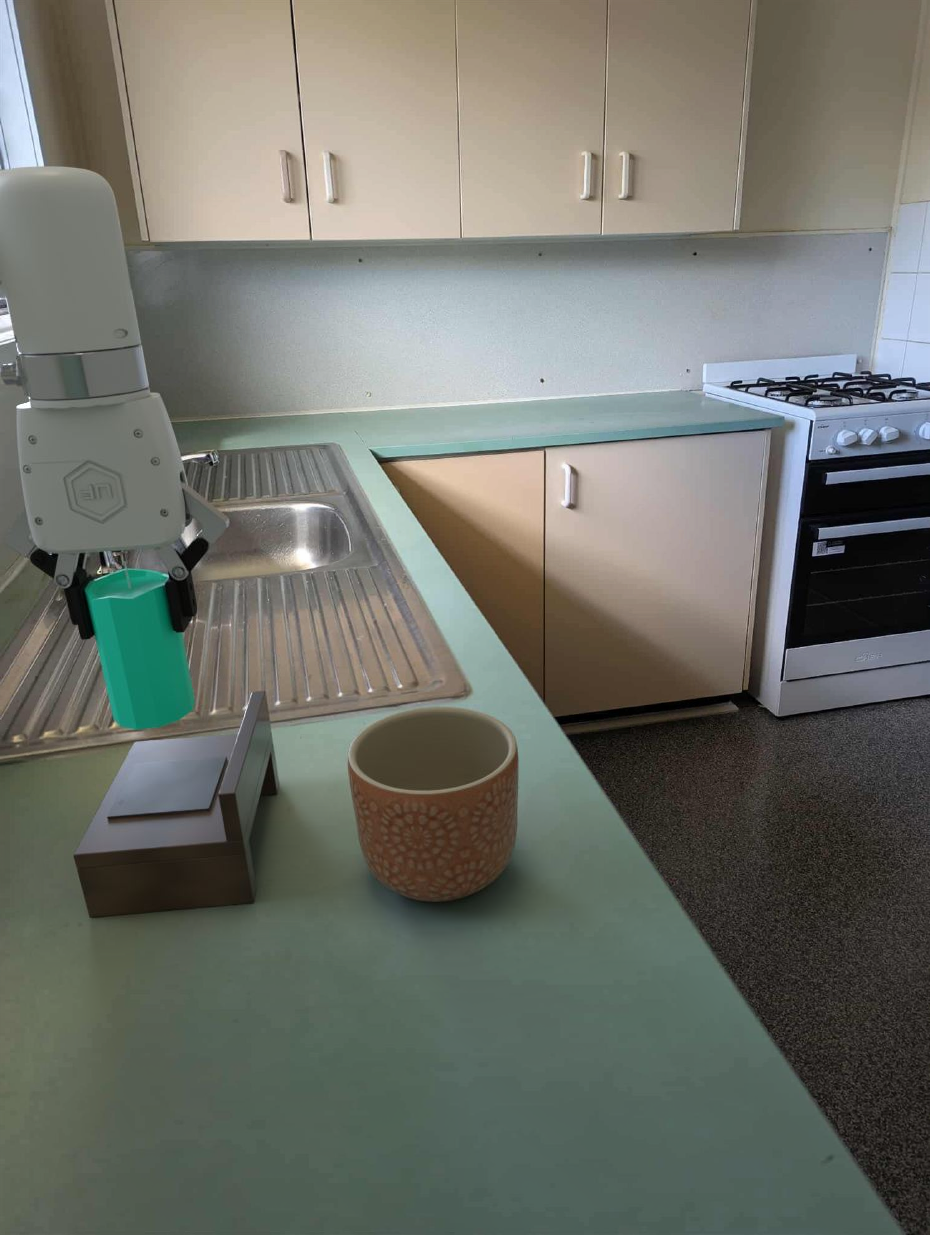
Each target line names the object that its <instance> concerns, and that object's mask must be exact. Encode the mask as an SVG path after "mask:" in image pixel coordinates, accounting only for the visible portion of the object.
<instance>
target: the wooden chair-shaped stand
mask: <svg viewBox="0 0 930 1235" xmlns="http://www.w3.org/2000/svg"><path fill="white" fill-rule="evenodd" d="M270 718H271V717H270V712H269V706H268V700H267V692H266V690H259V691H258V690H257V691H251V693H250V697H249V699H248V703H247V706H246V710H245V712H244V715H243V718H242V721H241V724H240V727H239V730H238V733H230V734H219V735H204V736H191V737H179V738H168V739H167V738H166V739H155V740H154V739H153V740H142V741H140V740H139V741H134V742H133V743H132V746H131V747H130V749H129V751H128V753H127V754H126V757H125V758H124V760H123V762H122V764H121V765H120V767H119V770H118V771H117V773H116V774H115V777H114V779H113V780H112V782H111V784H110V786H109V788H108V790H107V792H106V793H105V796H104V797H103V799H102V801H101V803H100V804H99V806H98V808H97V810H96V812H95V814H94V815H93V817H92V819H91V821H90V823H89V825H88V826H87V829H86V830H85V832H84V835H83V836H82V838H81V840H80V841H79V843H78V845H77V847H76V849H75V851H74V853H73V854H72V856H73V861H74V864H75V868H76V871H77V875H78V879H79V882H80V887H81V891H82V894H83V898H84V902H85V906H86V909H87V914H88V917H89V918H98V917H109V916H119V915H131V914H141V913H142V914H143V913H153V912H154V913H155V912H164V911H176V910H187V909H198V908H199V909H200V908H209V907H210V908H211V907H219V906H232V905H242V904H254V902H255V899H256V894H257V890H258V889H257V882H256V876H255V871H254V865H253V864H254V863H253V858H252V852H251V846H250V842H249V841H250V837H251V833H252V830H253V829H252V828H253V826H254V825H253V824H254V820H255V816H256V813H257V810H258V805H259V800H260V796H272V795H278V793H279V789H280V788H279V787H280V780H279V773H278V766H277V760H276V751H275V746H274V738H273V732H272V725H271V720H270Z"/></svg>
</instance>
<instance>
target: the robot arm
mask: <svg viewBox="0 0 930 1235" xmlns="http://www.w3.org/2000/svg"><path fill="white" fill-rule="evenodd" d="M120 222H121V221H120V215H119V210H118V205H117V202H116V196H115V193H114V190H113V189H112V187H111V184H110V183H109V182H108V180H107V179H106V178H105V177H103V176H102V175H101V174H99V173H98V172H95V171H93V170H89V169H87V168H80V167H71V166H51V165H50V166H47V165H46V166H44V165H42V166H22V167H13V168H6V169H1V170H0V300H5V301H6V307H7V310H8V315H9V319H10V323H11V324H10V325H11V328H12V333H13V337H14V341H15V345H16V349H17V353H18V354H15V361H13V362H12V363H5V364H1V366H0V377H1V379H2V382H3V383H4V384H5V385H6V386H17V387H19V388H20V387H21V388H22V391H23V394H24V397H28V401H29V402H26V403H22V404H19V405H17V406H16V439H17V440H16V441H17V443H16V444H17V452H18V453H17V454H18V465H19V472H20V474H19V475H20V481H21V488H22V494H23V501H24V507H23V509H22V511H21V512H20V513H19V515H18V516H17V518H15V520H14V521H13V522H12V524H11V526H10V527H9V529H8V530H7V532H6V533H5V534H4V536H3V537H2V538H3V542H4V544H5V545H6V546H8V547H9V548H10V549H11V550H14V551H15V552H16V553H18V554H19V555H21V556H22V557H23V558H25V559H26V558H27V559H28V560H30V562H31V564H32V565H33V566H34V567H36V568H37V569H38V570H40V571H41V572H43V573H44V574H46V575H47V576H49V577H50V578H52V579H53V582H54V584H55V585H56V586H57V587H58V588H60V589H63V592H64V598H65V601H66V605H67V609H68V613H69V617H70V621H71V624H72V625H73V626H77V629H78V633H79V637H80V639H81V640H82V641H83V640H85V641H86V640H91V639H92V638H93V637H95V634H94V630H93V626H92V621H91V617H90V612H89V608H88V603H87V599H86V595H85V588H86V587H87V585H88V584H89V582H90V581H92V580H95V578H94V576H92V573H87V570H86V569H85V568H86V563H87V559H88V553H103V552H117V551H118V552H119V551H130V550H145V549H154V551H155V553H156V554H157V555H158V557H159V559H160V560H161V562H162V563H163V565H164V566H165V569H166V570H167V575H169V578H168V580H167V581H166V582H165V589H166V595H167V600H168V605H169V611H170V616H171V621H172V627H173V631H176V633H181V632H182V633H185V632H186V630H187V629H188V627H189V624H190V623H191V621H192V619H193V617H194V618H195V617H196V615H197V614H198V602H197V597H196V591H195V585H194V581H193V576H192V574H193V573H192V571H193V569H194V568H195V567H196V566H197V565H198V563H199V562H200V561H201V560H202V559H203V558H204V557H205V555H206V554H207V552H208V551H209V550H210V549H211V548H212V547H213V546H214V545H215V544H216V542H217V541H218V540H219V539H220V537H222V536H223V534H224V533H225V532H226V530H227V529H228V528H229V526H230V522H231V521H230V519H229V517H228V516H227V515H226V514H224V513H223V512H222V511H221V510H219V509H218V508H217V507H216V506H214V505H213V504H212V503H211V502H210V501H208V500H207V499H206V498H205V497H203V496H202V494H201V495H200V493H198V492H197V491H196V490H195V489H193V488H192V487H191V486H190V485H189V483H188V478H187V474H186V470H185V466H184V463H183V458H182V454H181V451H180V448H179V444H178V441H177V437H176V434H175V431H174V429H173V425H172V422H171V419H170V417H169V414H168V410H167V408H166V405H165V402H164V400H163V398H162V396H161V393H159V392H151V388H150V384H149V379H148V378H149V377H148V373H147V372H148V371H147V367H146V362H145V361H146V360H145V357H144V356H145V355H144V349H143V345H142V339H141V334H140V328H139V322H138V316H137V311H136V310H137V309H136V305H135V299H134V295H133V294H134V293H133V289H132V283H131V279H130V278H131V277H130V273H129V266H128V260H127V256H126V248H125V243H124V238H123V233H122V227H121V223H120ZM193 518H194V519H195V520H196V521H197V522H198V523H199V524H200V525H201V530H200V531H199V532H198V534H197V535H196V536H195V537H194V538H193V539H192V541H191V542H190V543H189V544H187V543H186V542H185V540H184V538H183V536H182V535H183V534H184V533H185V530H186V528H187V527H188V526H190V525H191V524H192V522H193Z"/></svg>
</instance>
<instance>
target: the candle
mask: <svg viewBox="0 0 930 1235" xmlns="http://www.w3.org/2000/svg"><path fill="white" fill-rule="evenodd" d="M123 566H124V568H123V569H120V570H116V571H113V572H110V573H108V574H105V575H103V576H100V577H97V578H94V580H92V581H90V582H89V584H88V585H87V587H86V588H85V595H86V599H87V603H88V608H89V612H90V617H91V621H92V626H93V630H94V634H95V635H94V639H95V643H96V647H97V653H98V656H99V660H100V661H99V662H100V665H101V670H102V673H103V679H104V683H105V687H106V691H107V696H108V700H109V705H110V710H111V714H112V718H113V721H115V722H116V724H117V725H118V726H119V727H120V728H125V729H131V730H136V731H137V730H139V731H140V730H146V729H147V730H148V729H157V728H162V727H164V726H167V725H170V724H172V723H175V722H178V721H180V720H182V719H184V718H185V717H186V716H188V715H189V714H190V713H191V712H193V709H194V706H195V703H196V699H195V694H194V689H193V683H192V677H191V671H190V667H189V662H188V661H189V660H188V656H187V650H186V646H185V645H186V644H185V639H184V634H183V633H184V632H181V633H176V631H173V627H172V621H171V616H170V611H169V605H168V600H167V595H166V589H165V582H166V581H167V580H168V578H169V575H168V573H164V572H160V571H156V570H151V569H144V568H143V569H141V568H128V566H127V562H126V561H123Z"/></svg>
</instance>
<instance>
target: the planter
mask: <svg viewBox="0 0 930 1235" xmlns="http://www.w3.org/2000/svg"><path fill="white" fill-rule="evenodd" d="M519 761H520V760H519V748H518V744H517V739H516V736H515V735H514V733H513V731H512V730H511V729H510V728H509V727H508V726H507V725H506V724H505V723H504V722H502V721H501V720H500V719H497V718H495V717H494V716H492V715H489V714H488V713H485V712H481V711H477V710H474V709H469V708H464V707H455V706H428V707H420V708H413V709H408V710H403V711H400V712H397V713H393V714H391V715H388V716H385V717H383V718H381V719H378V720H376V721H374V722H373V723H370V724H369V725H368V726H366V727H365V728H364V729H362V730H361V731H360V732H359V733H358V734H357V735H356V736H355V737H354V739H353V740H352V741H351V744H350V746H349V748H348V752H347V773H348V780H349V788H350V793H351V800H352V806H353V811H354V812H353V813H354V818H355V824H356V830H357V831H356V832H357V838H358V842H359V847H360V849H361V853H362V857H363V859H364V862H365V863H366V865H367V868H368V869H369V871H370V872H371V873H372V875H373V876H374V877H375V878H376V880H377V881H379V882H380V883H381V884H382V885H383V886H385V887H386V888H387V889H389V890H391V891H392V892H394V893H396V894H398V895H401V896H403V897H405V898H408V899H412V900H416V901H422V902H430V903H434V902H435V903H436V902H437V903H438V902H450V901H456V900H459V899H462V898H465V897H469V896H470V895H471V896H472V895H473V894H475V893H477V892H479V891H481V890H483V889H484V888H486V887H487V886H488V885H490V884H491V883H492V882H494V881H495V880H497V878H498V877H500V875H501V874H502V873H503V871H505V869H506V867H507V865H508V864H509V862H510V861H511V859H512V856H513V854H514V851H515V847H516V842H517V834H518V811H519V810H518V809H519V808H518V807H519V804H518V803H519Z"/></svg>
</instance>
